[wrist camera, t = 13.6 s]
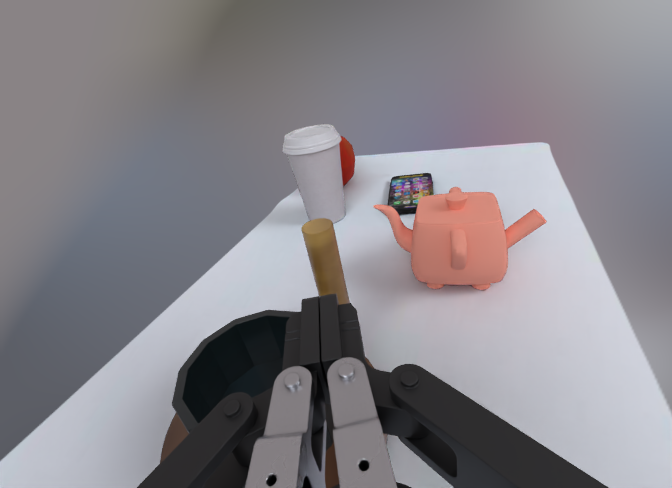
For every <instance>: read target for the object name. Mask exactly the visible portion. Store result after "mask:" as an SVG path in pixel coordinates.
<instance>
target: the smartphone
mask: <svg viewBox="0 0 672 488" xmlns="http://www.w3.org/2000/svg"><path fill="white" fill-rule="evenodd" d="M432 184H433V182H432V177H431V174H430V173H423V174H413V175H404V176H396V177H393V178H392V179H391V183H390V191H389V198H388V206H391V207H393V208H394V209H395V210H396V211H397V212H398V214H405V213H416V210H417V206H418V201H419V199H420V198H421V197H424V196H430V195H433V185H432Z"/></svg>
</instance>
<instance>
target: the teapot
mask: <svg viewBox="0 0 672 488" xmlns="http://www.w3.org/2000/svg"><path fill="white" fill-rule="evenodd" d="M374 208H376V209H378V210H380V211H381V212H383V213H384V214H385V215H386V216H387V217H388V219H389V221H390V223H391V226H392V230H393V233H394V236H395V239H396V241H397V243H398V244H399V245H400V246H401V247H402V248H403V249H404V250H406V251H408V252H410V253H411V264H412V270H413V273H414V275H415V277H416V278H417V280H418V281H421V282H426V283H427V286H428V287H430V288H432V289H440V288H442V287H443V286H444V285H445V284H447V285H472V286H473V287H474V288H476V289H479V290H484V289H488V288H489V287H490V285H491V284H490V283H496V282H500V281H501V280H502V279H503V277H504V276H505V274H506V271H507V267H508V250H507V249H508V248H509V247H511V246H512V245H514V244H515V243H517V242H518V241H520V240H521V239H523V238H524V237H526V236H527V235H528V234H530V233H531V232H533V231H534V230H536V229H537V228H539V227H540V226H542V225H543V224H545V223H546V220H545V219H544V217H543V216H542V215H541V214H540V213H539V212H538V211H536V210H535V209H533V210H532V211H530V212H529V213H528V214H526V215H525V216H523V217H522V218H521V219H519V220H518V221H517V222H515V223H514V224H513V225H511V226H510V227H508V228H507V229H506V230H505V229H504V224H503V220H502V216H501V212H500V209H499V206H498V202H497V199H496V197H495V195H494V194H493V193H489V192H465V193H464V192H461V189H460V188H458V187H453V188H451V189H450V191H449V193H448V194H438V195H430V196H424V197H421V198H420V199H419V201H418V206H417V210H416V215H415V220H414V225H413V230H411V229H408V228H407V227H405V226H404V224H403V223H402V221H401V219H400V216H399V214H398V212H397V211H396V210H395V209H394V208H393V207H391V206H388V205H374Z"/></svg>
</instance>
